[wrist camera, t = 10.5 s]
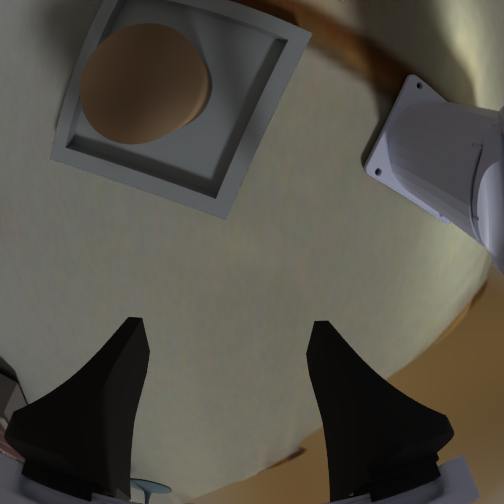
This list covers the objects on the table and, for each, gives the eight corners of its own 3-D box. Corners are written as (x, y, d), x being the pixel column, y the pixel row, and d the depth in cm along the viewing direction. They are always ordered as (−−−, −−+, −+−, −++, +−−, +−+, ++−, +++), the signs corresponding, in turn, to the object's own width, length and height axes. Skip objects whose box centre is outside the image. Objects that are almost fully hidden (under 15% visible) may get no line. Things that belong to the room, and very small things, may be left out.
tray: (304, 40, 14) (312, 33, 13) (226, 208, 19) (225, 220, 18) (126, -13, 11) (115, -22, 10) (65, 152, 16) (50, 159, 15)
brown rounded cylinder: (226, 62, 14) (222, 42, 9) (192, 141, 16) (172, 161, 11) (146, 39, 13) (106, 14, 8) (116, 116, 15) (66, 127, 10)
